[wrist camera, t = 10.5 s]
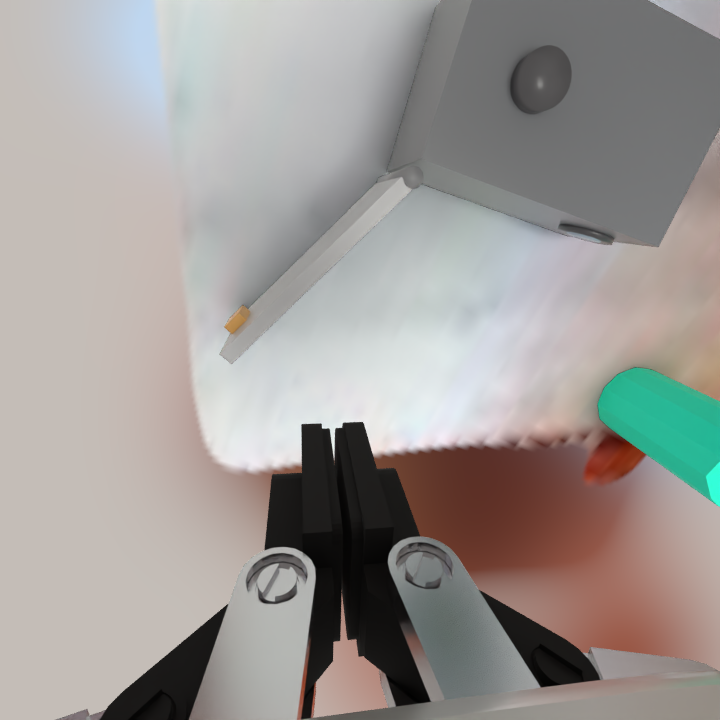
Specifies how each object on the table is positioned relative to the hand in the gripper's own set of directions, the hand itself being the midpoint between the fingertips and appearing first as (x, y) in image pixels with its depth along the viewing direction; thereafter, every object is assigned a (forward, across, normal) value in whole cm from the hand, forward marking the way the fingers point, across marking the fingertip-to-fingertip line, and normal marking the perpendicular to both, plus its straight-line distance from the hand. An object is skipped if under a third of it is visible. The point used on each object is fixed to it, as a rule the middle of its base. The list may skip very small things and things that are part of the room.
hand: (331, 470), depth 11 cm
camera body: (+19, -13, -11) cm, 26 cm away
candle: (+19, -27, +8) cm, 34 cm away
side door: (+19, 0, -4) cm, 19 cm away
